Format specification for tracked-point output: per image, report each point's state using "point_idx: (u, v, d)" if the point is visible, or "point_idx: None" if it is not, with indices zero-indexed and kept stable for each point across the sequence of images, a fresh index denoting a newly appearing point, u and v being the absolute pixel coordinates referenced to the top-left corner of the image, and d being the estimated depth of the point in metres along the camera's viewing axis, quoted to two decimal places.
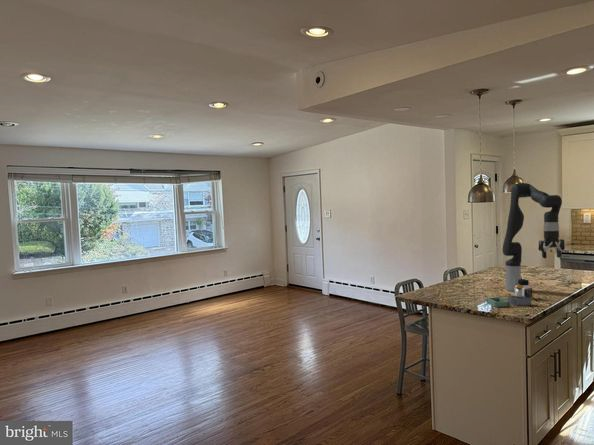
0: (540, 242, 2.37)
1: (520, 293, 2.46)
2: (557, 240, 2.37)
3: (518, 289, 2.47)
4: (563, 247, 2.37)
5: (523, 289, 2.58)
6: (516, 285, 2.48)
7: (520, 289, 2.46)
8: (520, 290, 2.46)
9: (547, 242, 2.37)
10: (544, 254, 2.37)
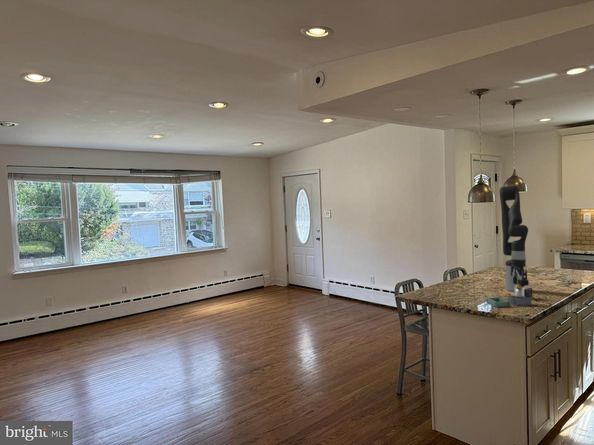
0: (525, 271, 2.40)
1: (520, 293, 2.46)
2: None
3: (518, 289, 2.47)
4: None
5: (523, 289, 2.58)
6: (516, 285, 2.48)
7: (520, 289, 2.46)
8: (520, 290, 2.46)
9: None
10: None
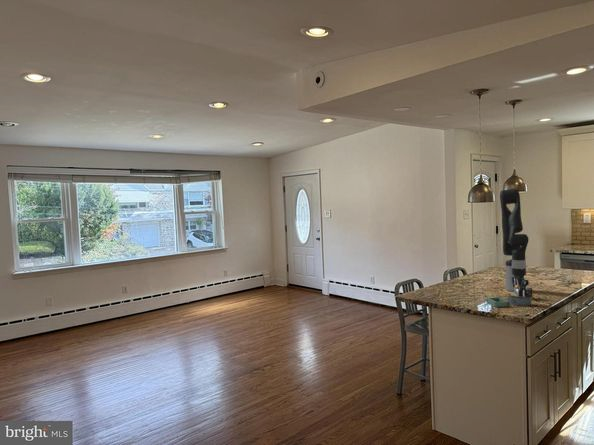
0: (525, 283, 2.41)
1: None
2: None
3: (518, 289, 2.47)
4: None
5: None
6: (516, 285, 2.48)
7: None
8: None
9: None
10: (522, 292, 2.45)
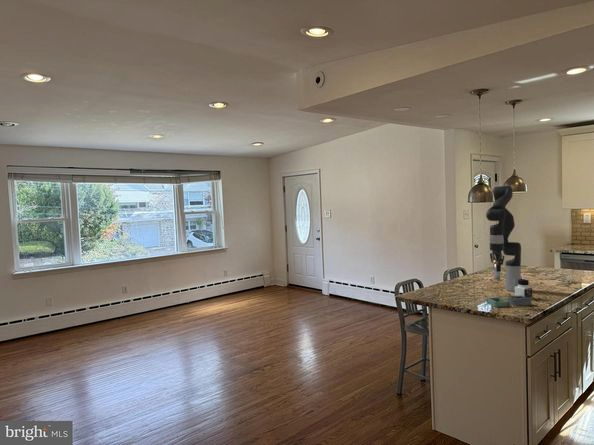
0: (502, 258, 2.41)
1: None
2: None
3: None
4: None
5: (523, 289, 2.58)
6: None
7: None
8: None
9: None
10: None
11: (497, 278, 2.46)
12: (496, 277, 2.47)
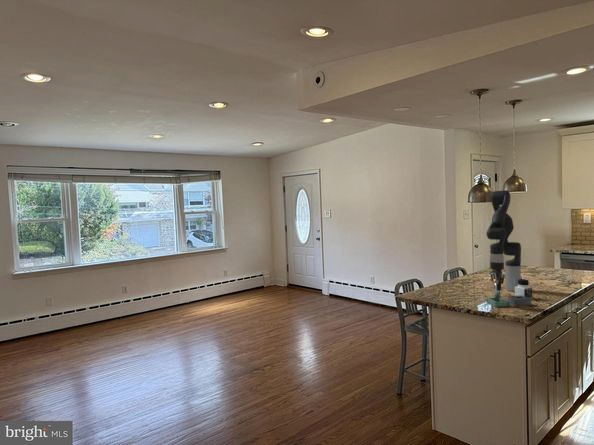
0: (502, 277, 2.41)
1: None
2: None
3: (496, 283, 2.47)
4: None
5: (523, 289, 2.58)
6: (494, 279, 2.48)
7: None
8: None
9: None
10: (500, 286, 2.45)
11: (498, 297, 2.47)
12: (496, 296, 2.47)
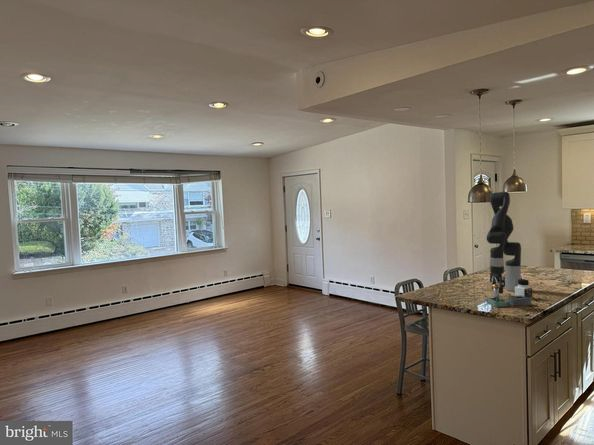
0: (503, 278, 2.41)
1: (497, 292, 2.48)
2: None
3: (495, 288, 2.49)
4: None
5: (523, 289, 2.58)
6: (493, 284, 2.50)
7: (497, 288, 2.48)
8: (497, 289, 2.48)
9: None
10: (502, 289, 2.43)
11: None
12: None
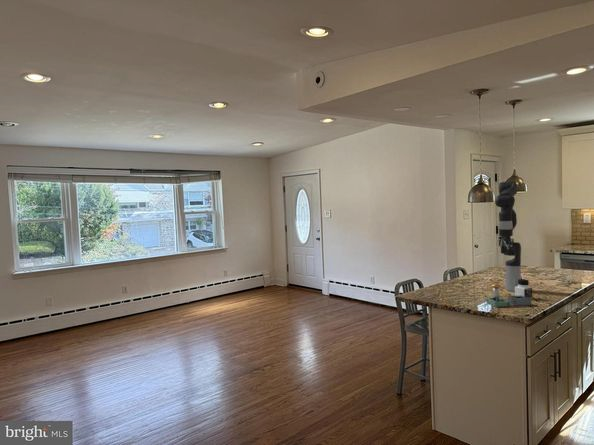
0: (512, 240, 2.45)
1: (497, 292, 2.49)
2: None
3: (495, 288, 2.49)
4: None
5: (523, 289, 2.58)
6: (493, 284, 2.50)
7: (497, 288, 2.48)
8: (497, 289, 2.49)
9: None
10: (511, 251, 2.47)
11: None
12: None
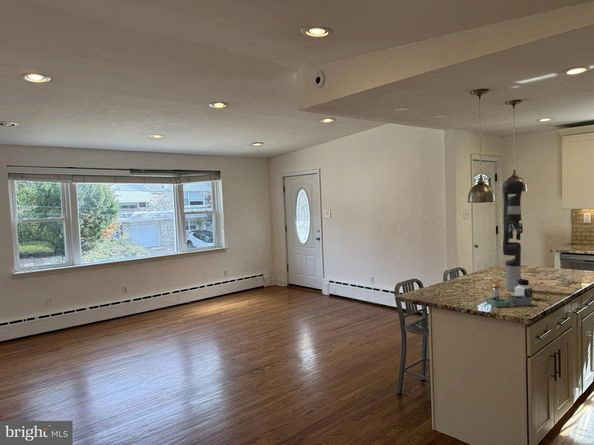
0: (520, 225, 2.49)
1: (497, 292, 2.48)
2: None
3: (495, 288, 2.49)
4: None
5: (523, 289, 2.58)
6: (493, 284, 2.50)
7: (497, 288, 2.48)
8: (497, 289, 2.48)
9: None
10: None
11: None
12: None
